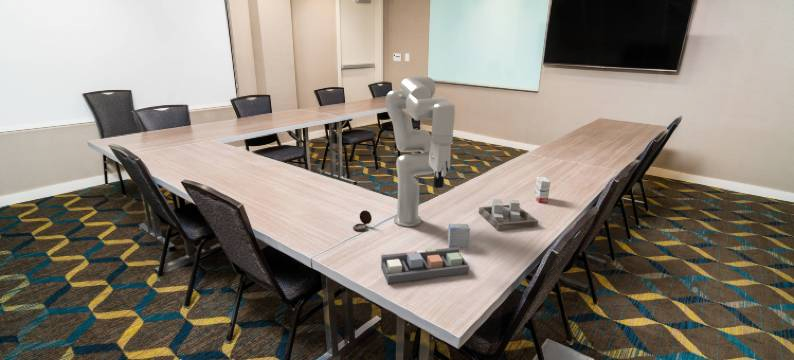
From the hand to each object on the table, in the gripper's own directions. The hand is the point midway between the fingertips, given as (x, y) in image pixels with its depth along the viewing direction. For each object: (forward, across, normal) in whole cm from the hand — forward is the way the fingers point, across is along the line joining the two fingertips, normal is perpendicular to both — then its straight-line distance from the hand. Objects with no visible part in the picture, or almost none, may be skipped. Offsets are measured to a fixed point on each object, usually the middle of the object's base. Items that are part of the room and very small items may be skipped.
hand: (438, 186), depth 147 cm
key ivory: (+26, +12, -19) cm, 34 cm away
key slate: (+24, +12, -11) cm, 29 cm away
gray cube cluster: (+29, -22, +43) cm, 56 cm away
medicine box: (+28, -4, +12) cm, 31 cm away
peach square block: (+26, +12, -4) cm, 29 cm away
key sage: (+26, +12, +4) cm, 29 cm away
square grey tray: (+28, -21, +44) cm, 56 cm away
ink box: (+29, -40, +74) cm, 89 cm away
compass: (+29, -26, -23) cm, 45 cm away
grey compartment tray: (+27, +12, -8) cm, 31 cm away
